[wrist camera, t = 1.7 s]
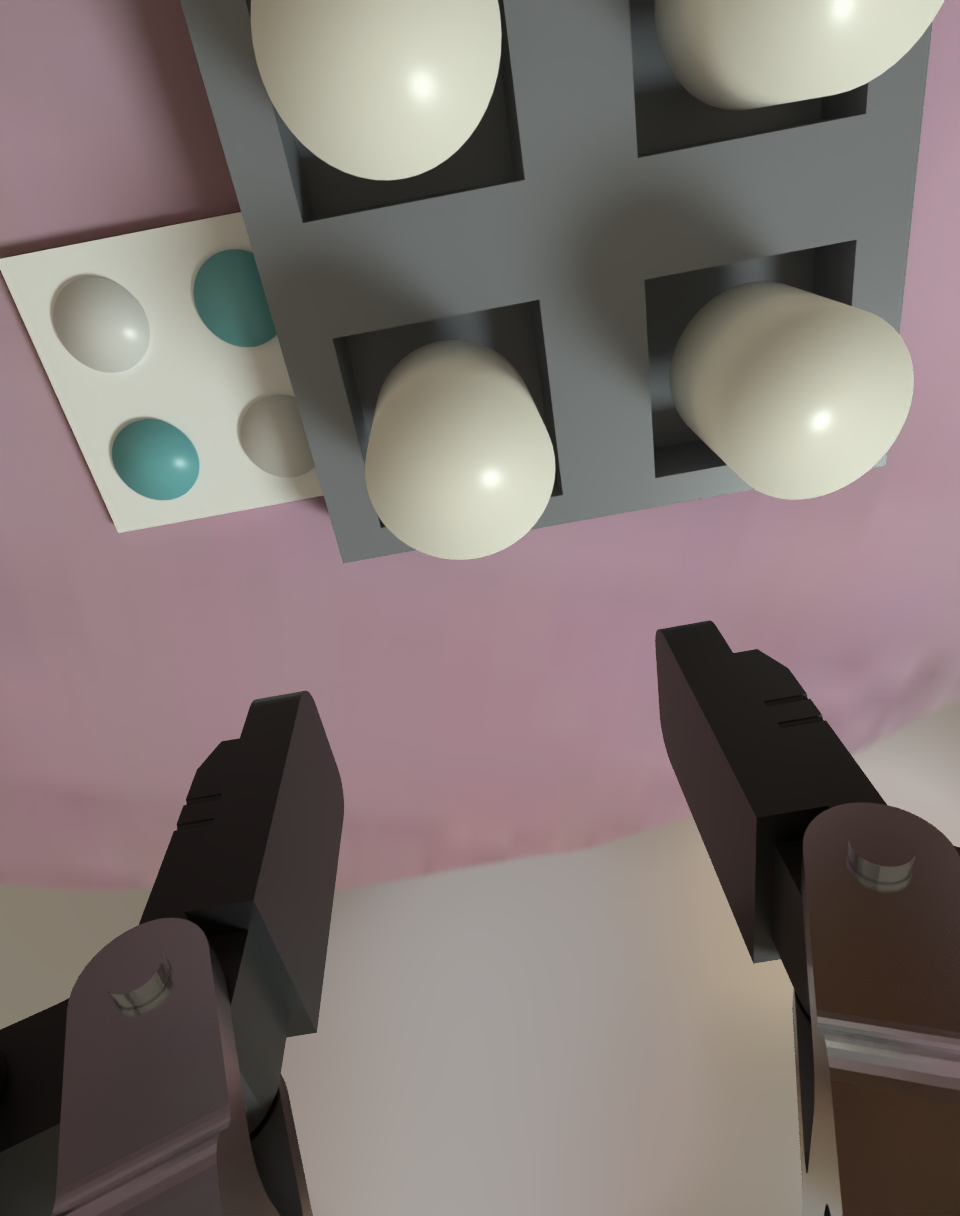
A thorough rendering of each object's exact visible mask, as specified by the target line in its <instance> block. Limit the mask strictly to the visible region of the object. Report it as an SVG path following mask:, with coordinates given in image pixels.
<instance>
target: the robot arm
mask: <svg viewBox="0 0 960 1216" xmlns="http://www.w3.org/2000/svg"><path fill="white" fill-rule="evenodd" d="M655 643H656V660H657V676H658V692H659V709H660V721H661V728H662V733H663V738H664V743H665V747H666V750H667V754H668V757H669V759H670V762H671V765H672V767H673V769H674V772H675V774H676V777H677V779H678V782H679V784H680V786H681V789H682V791H683V794H684V796H685V798H686V801H687V803H688V806H689V808H690V811H691V813H692V815H693V818H694V820H695V823H696V825H697V828H698V830H699V832H700V834H701V837H702V840H703V842H704V845H705V847H706V849H707V851H708V854H709V856H710V859H711V862H712V864H713V866H714V869H715V871H716V874H717V876H718V878H719V881H720V883H721V886H722V888H723V891H724V893H725V895H726V898H727V900H728V903H729V905H730V908H731V910H732V912H733V915H734V917H735V919H736V922H737V925H738V927H739V929H740V932H741V934H742V937H743V939H744V942H745V944H746V946H747V949H748V951H749V954H750V956H751V958H752V961H753V963H759V962H765V961H772V960H778V959H781V960H782V962H783V965H784V967H785V969H786V971H787V973H788V975H789V978H790V980H791V982H792V985H793V987H794V990H793V1007H792V1010H793V1011H792V1012H793V1028H794V1029H793V1030H794V1048H795V1067H796V1084H797V1102H798V1120H799V1139H800V1156H801V1176H802V1209H803V1210H802V1211H803V1212H802V1215H803V1216H960V847H956V846H953V844H952V843H951V842H950V841H949V840H948V839H947V837H946V836H945V835H944V834H943V833H942V832H940V831H939V830H938V829H937V828H936V827H934V826H933V825H932V824H930V823H928V822H927V821H925V820H924V819H922V818H920V817H918V816H916V815H914V814H912V813H910V812H907V811H905V810H902V809H899V808H896V807H892V806H888V805H887V804H886V803H885V801H884V800H883V799H882V797H881V796H880V795H879V793H878V792H877V790H876V789H875V788H874V786H873V785H872V784H871V782H870V781H869V779H868V778H867V777H866V775H865V774H864V772H863V771H862V770H861V768H860V767H859V766H858V764H857V763H856V761H855V760H854V759H853V757H852V756H851V754H850V753H849V752H848V750H847V749H846V748H845V746H844V745H843V743H842V742H841V741H840V739H839V738H838V736H837V735H836V734H835V732H834V731H833V730H832V728H831V727H830V725H829V724H828V723H827V721H823V718H822V714H821V713H820V712H819V710H818V709H817V707H816V706H815V705H814V703H813V702H812V701H811V699H808V698H807V694H806V692H805V691H804V689H803V688H802V687H801V685H800V684H799V683H798V681H797V680H796V678H795V677H794V676H793V674H792V673H791V671H790V670H789V669H788V668H787V667H785V666H784V665H782V664H780V663H779V662H777V661H775V660H774V659H772V658H771V657H769V656H767V655H766V654H764V653H762V652H761V651H759V650H758V649H755V650H750V651H744V652H738V653H733V652H732V651H731V649H730V647H729V646H728V644H727V643H726V641H725V639H724V638H723V636H722V635H721V633H720V632H719V630H718V628H717V627H716V625H715V624H714V623H713V622H712V621H705V622H699V623H693V624H688V625H682V626H676V627H671V628H665V629H659V630H657V632H656V640H655ZM186 802H187V805H184V806H183V809H182V811H181V814H180V817H179V819H178V822H177V830H176V831H174V833H173V835H172V838H171V841H170V843H169V846H168V849H167V851H166V854H165V857H164V859H163V862H162V864H161V867H160V870H159V872H158V875H157V878H156V880H155V883H154V886H153V888H152V891H151V894H150V897H149V899H148V902H147V905H146V907H145V910H144V912H143V915H142V918H141V921H140V923H139V925H138V926H136V927H134V928H132V929H130V930H128V931H126V932H125V933H123V934H121V935H120V936H118V937H116V938H115V939H114V940H112V941H111V942H110V943H109V944H107V945H106V946H105V947H104V948H103V949H102V950H101V951H99V952H98V953H97V954H96V955H95V956H94V957H93V959H92V960H91V961H90V962H89V963H88V964H87V966H86V967H85V969H84V970H83V971H82V973H81V974H80V976H79V977H78V979H77V981H76V983H75V985H74V987H73V989H72V992H71V995H70V998H69V999H67V1000H65V1001H63V1002H61V1003H59V1004H57V1005H54V1006H52V1007H50V1008H48V1009H46V1010H43V1011H41V1012H39V1013H37V1014H34V1015H32V1016H30V1017H28V1018H26V1019H24V1020H21V1021H19V1022H17V1023H14V1024H12V1025H10V1026H8V1027H6V1028H3V1029H1V1030H0V1216H313V1213H312V1209H311V1204H310V1199H309V1194H308V1189H307V1184H306V1179H305V1174H304V1169H303V1164H302V1159H301V1154H300V1149H299V1144H298V1139H297V1134H296V1129H295V1124H294V1119H293V1114H292V1109H291V1104H290V1099H289V1094H288V1090H287V1086H286V1083H285V1081H284V1079H283V1077H282V1075H281V1067H282V1061H283V1055H284V1048H285V1042H286V1037H292V1036H297V1035H304V1034H310V1033H317V1026H318V1018H319V1010H320V1002H321V994H322V985H323V978H324V969H325V960H326V953H327V945H328V937H329V929H330V921H331V912H332V905H333V897H334V889H335V881H336V873H337V865H338V857H339V849H340V841H341V833H342V825H343V816H344V798H343V789H342V783H341V778H340V774H339V771H338V768H337V765H336V762H335V759H334V756H333V753H332V750H331V748H330V745H329V742H328V739H327V736H326V733H325V730H324V727H323V725H322V722H321V719H320V716H319V713H318V710H317V707H316V705H315V702H314V700H313V698H312V696H311V694H310V693H309V692H308V691H302V692H296V693H290V694H284V695H279V696H273V697H267V698H262V699H256V700H254V701H253V702H252V703H251V706H250V709H249V712H248V715H247V718H246V721H245V724H244V727H243V730H242V733H241V737H240V738H239V739H234V740H228V741H222V742H221V743H220V744H219V745H218V746H217V747H216V748H215V750H214V751H213V752H212V753H211V754H210V755H209V757H208V758H207V759H206V760H205V761H204V762H203V764H202V765H201V766H200V767H199V768H198V769H197V771H196V774H195V777H194V779H193V782H192V785H191V787H190V790H189V793H188V795H187V798H186Z"/></svg>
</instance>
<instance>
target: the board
mask: <svg viewBox="0 0 960 1216" xmlns="http://www.w3.org/2000/svg"><path fill="white" fill-rule="evenodd" d="M180 3H181V7H182V10H183V13H184V17H185V20H186V24H187V27H188V31H189V34H190V38H191V41H192V44H193V48H194V51H195V55H196V58H197V62H198V65H199V68H200V72H201V75H202V79H203V82H204V86H205V89H206V93H207V96H208V99H209V103H210V106H211V110H212V113H213V117H214V120H215V124H216V127H217V130H218V134H219V137H220V141H221V144H222V148H223V151H224V154H225V158H226V161H227V165H228V168H229V172H230V175H231V179H232V182H233V185H234V189H235V192H236V196H237V199H238V203H239V206H240V210H241V213H242V216H243V220H244V223H245V227H246V230H247V234H248V237H249V240H250V244H251V247H252V251H253V254H254V258H255V261H256V265H257V268H258V271H259V275H260V278H261V282H262V285H263V289H264V292H265V295H266V299H267V302H268V306H269V309H270V313H271V316H272V320H273V323H274V326H275V330H276V333H277V337H278V340H279V344H280V347H281V351H282V354H283V357H284V361H285V364H286V368H287V371H288V375H289V378H290V381H291V385H292V388H293V392H294V395H295V399H296V402H297V406H298V409H299V412H300V416H301V419H302V423H303V426H304V430H305V433H306V437H307V440H308V443H309V447H310V450H311V454H312V457H313V461H314V464H315V467H316V471H317V474H318V478H319V481H320V485H321V488H322V492H323V495H324V498H325V502H326V505H327V509H328V512H329V516H330V519H331V523H332V526H333V529H334V533H335V536H336V540H337V543H338V547H339V550H340V553H341V557H342V560H343V563H348V562H353V561H359V560H364V559H370V558H375V557H381V556H386V555H392V554H398V553H403V552H409V551H414V550H416V549H414V548H412V547H410V546H408V545H407V544H405V543H404V542H402V541H401V540H399V539H398V538H397V537H396V536H395V535H394V534H393V533H392V532H390V530H389V529H388V528H387V527H386V526H385V525H384V524H383V522H382V521H381V519H380V518H379V516H378V515H377V513H376V511H375V509H374V507H373V505H372V503H371V500H370V497H369V494H368V491H367V486H366V480H365V461H366V453H367V448H368V443H369V438H370V433H371V428H372V423H373V418H374V413H375V408H376V404H377V399H378V395H379V392H380V390H381V387H382V385H383V383H384V381H385V379H386V377H387V376H388V374H389V373H390V372H391V370H392V369H393V368H394V367H395V366H396V364H397V363H398V362H399V361H400V360H401V359H403V358H404V357H405V356H407V355H408V354H409V353H411V352H412V351H414V350H416V349H418V348H419V347H422V346H424V345H427V344H429V343H433V342H437V341H442V340H466V341H472V342H475V343H479V344H482V345H484V346H487V347H489V348H491V349H493V350H494V351H496V352H498V353H499V354H501V355H502V356H503V357H504V358H506V359H507V360H508V361H509V362H510V363H511V364H512V365H513V366H514V367H515V368H516V370H517V371H518V372H519V374H520V375H521V377H522V378H523V380H524V382H525V384H526V386H527V388H528V391H529V393H530V395H531V397H532V399H533V401H534V404H535V406H536V408H537V410H538V412H539V414H540V417H541V419H542V421H543V423H544V425H545V427H546V429H547V432H548V434H549V437H550V440H551V443H552V445H553V451H554V456H555V480H554V485H553V490H552V493H551V496H550V499H549V502H548V504H547V506H546V508H545V510H544V512H543V514H542V515H541V517H540V518H539V519H538V521H537V522H536V524H535V525H534V526H533V527H532V528H531V529H536V528H542V527H547V526H553V525H558V524H564V523H570V522H575V521H581V520H586V519H592V518H597V517H603V516H608V515H614V514H619V513H625V512H631V511H636V510H642V509H647V508H653V507H658V506H664V505H669V504H675V503H680V502H686V501H692V500H697V499H703V498H708V497H714V496H719V495H725V494H730V493H736V492H742V491H747V490H753V489H754V488H752V487H751V486H749V485H748V484H747V483H745V482H744V481H743V480H742V479H741V478H740V477H739V476H738V475H737V474H736V473H735V472H734V471H733V470H732V469H731V468H730V467H729V466H728V465H727V464H726V463H725V462H724V461H723V460H722V459H721V458H720V457H719V456H718V455H717V454H716V453H715V452H714V451H713V450H712V449H711V448H710V447H709V446H708V445H707V444H706V443H705V442H704V441H703V440H701V439H700V438H699V437H698V436H697V435H696V434H695V433H694V432H693V431H692V430H691V429H690V428H689V427H688V426H687V424H686V423H685V422H684V421H683V420H682V418H681V417H680V415H679V413H678V411H677V409H676V407H675V404H674V402H673V398H672V394H671V388H670V368H671V362H672V358H673V354H674V350H675V348H676V345H677V343H678V340H679V338H680V336H681V334H682V333H683V331H684V329H685V328H686V326H687V325H688V323H689V322H690V320H691V319H692V318H693V317H694V316H695V314H696V313H697V312H698V311H699V310H700V309H701V308H702V307H703V306H704V305H706V304H707V303H708V302H709V301H710V300H712V299H713V298H715V297H716V296H717V295H719V294H721V293H723V292H725V291H726V290H728V289H731V288H733V287H736V286H738V285H742V284H746V283H749V282H757V281H772V282H778V283H783V284H786V285H789V286H792V287H795V288H798V289H801V290H804V291H807V292H810V293H813V294H816V295H819V296H822V297H825V298H828V299H831V300H834V301H837V302H840V303H844V304H847V305H850V306H853V307H856V308H859V309H862V310H865V311H868V312H870V313H873V314H875V315H877V316H879V317H880V318H882V319H884V320H885V321H886V322H887V323H889V324H890V325H891V326H892V327H893V328H894V329H895V330H896V331H897V332H898V333H899V332H900V323H901V313H902V304H903V294H904V285H905V276H906V266H907V257H908V247H909V238H910V228H911V219H912V209H913V200H914V191H915V181H916V172H917V162H918V153H919V143H920V134H921V124H922V115H923V105H924V96H925V87H926V77H927V68H928V58H929V49H930V39H931V30H932V22H931V24H930V25H929V26H928V28H927V29H926V31H925V32H924V33H923V35H922V36H921V37H920V39H919V40H918V41H917V42H916V43H915V44H914V45H913V47H912V48H911V49H910V50H909V51H908V52H907V53H906V54H905V55H904V56H903V57H902V58H901V59H900V60H899V61H898V62H897V63H895V64H894V65H893V66H892V67H890V68H889V69H888V70H886V71H885V72H884V73H882V74H881V75H880V76H878V77H876V78H875V79H873V80H871V81H869V82H868V83H866V84H864V85H862V86H859V87H857V88H855V89H852V90H850V91H847V92H843V93H839V94H836V95H830V96H825V97H819V98H813V99H807V100H801V101H796V102H790V103H784V104H778V105H772V106H767V107H761V108H755V109H748V110H740V111H739V110H725V109H720V108H716V107H713V106H711V105H708V104H705V103H704V102H702V101H700V100H699V99H697V98H695V97H694V96H693V95H691V94H690V93H689V92H688V91H687V90H685V88H684V87H683V86H682V85H681V84H680V83H679V82H678V81H677V79H676V78H675V76H674V75H673V73H672V72H671V70H670V69H669V66H668V64H667V62H666V60H665V58H664V56H663V53H662V50H661V47H660V44H659V40H658V35H657V30H656V23H655V12H654V8H655V0H498V5H499V10H500V19H501V34H502V35H501V56H500V63H499V70H498V75H497V79H496V83H495V87H494V91H493V94H492V96H491V99H490V101H489V104H488V107H487V109H486V111H485V113H484V115H483V117H482V119H481V120H480V122H479V124H478V126H477V127H476V129H475V130H474V131H473V133H472V134H471V136H470V137H469V138H468V140H467V141H466V142H465V143H464V144H463V145H462V146H461V147H460V148H459V150H457V151H456V152H455V153H454V154H453V155H452V156H450V157H449V158H448V159H447V160H446V161H444V162H442V163H441V164H439V165H438V166H436V167H434V168H433V169H431V170H428V171H426V172H424V173H422V174H419V175H416V176H412V177H409V178H405V179H397V180H372V179H367V178H361V177H357V176H354V175H351V174H348V173H345V172H343V171H341V170H339V169H337V168H335V167H333V166H331V165H329V164H328V163H326V162H325V161H323V160H322V159H320V158H319V157H317V156H316V155H315V154H313V153H312V152H311V151H310V150H309V149H308V148H306V147H305V146H304V145H303V144H302V143H301V142H300V141H299V140H298V139H297V137H296V136H295V135H294V134H293V133H292V132H291V131H290V129H289V128H288V127H287V125H286V124H285V123H284V121H283V120H282V118H281V117H280V115H279V114H278V112H277V110H276V108H275V107H274V105H273V103H272V101H271V100H270V97H269V95H268V93H267V90H266V88H265V86H264V84H263V81H262V78H261V75H260V72H259V68H258V65H257V62H256V57H255V52H254V47H253V42H252V31H251V0H180ZM886 455H887V452H886V453H885V454H884V456H883V457H882V458H881V459H880V460H879V461H878V462H877V463H876V464H875V465H874V466H873V467H872V468H875V467H880V466H885V464H886ZM531 529H530V530H531Z"/></svg>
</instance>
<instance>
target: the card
mask: <svg viewBox="0 0 960 1216" xmlns="http://www.w3.org/2000/svg"><path fill="white" fill-rule="evenodd" d="M0 270H1V272H2V275H3V277H4V279H5V281H6V283H7V286H8V288H9V290H10V292H11V295H12V297H13V299H14V301H15V304H16V306H17V308H18V310H19V312H20V315H21V317H22V319H23V321H24V324H25V326H26V328H27V330H28V333H29V335H30V337H31V339H32V341H33V344H34V346H35V348H36V350H37V353H38V355H39V357H40V359H41V362H42V364H43V366H44V368H45V370H46V373H47V375H48V377H49V379H50V382H51V384H52V386H53V388H54V391H55V393H56V395H57V397H58V399H59V402H60V404H61V406H62V408H63V411H64V413H65V415H66V417H67V420H68V422H69V424H70V426H71V428H72V431H73V433H74V435H75V437H76V440H77V442H78V444H79V446H80V449H81V451H82V453H83V455H84V457H85V460H86V462H87V464H88V466H89V469H90V471H91V473H92V475H93V478H94V480H95V482H96V484H97V486H98V489H99V491H100V493H101V495H102V498H103V500H104V502H105V504H106V507H107V509H108V511H109V513H110V515H111V518H112V520H113V522H114V524H115V527H116V529H117V531H118V533H121V532H127V531H132V530H138V529H143V528H149V527H154V526H160V525H165V524H171V523H176V522H181V521H187V520H192V519H198V518H203V517H209V516H214V515H220V514H225V513H231V512H236V511H242V510H247V509H252V508H258V507H263V506H269V505H274V504H280V503H285V502H291V501H296V500H302V499H307V498H313V497H318V496H324V495H323V492H322V488H321V485H320V481H319V478H318V474H317V471H316V467H315V464H314V461H313V457H312V454H311V450H310V447H309V443H308V440H307V437H306V433H305V430H304V426H303V423H302V419H301V416H300V412H299V409H298V406H297V402H296V399H295V395H294V392H293V388H292V385H291V381H290V378H289V375H288V371H287V368H286V364H285V361H284V357H283V354H282V351H281V347H280V344H279V340H278V337H277V333H276V330H275V326H274V323H273V320H272V316H271V313H270V309H269V306H268V302H267V299H266V295H265V292H264V289H263V285H262V282H261V278H260V275H259V271H258V268H257V265H256V261H255V258H254V254H253V251H252V247H251V244H250V240H249V237H248V234H247V230H246V227H245V223H244V220H243V216H242V213H241V212H237V213H232V214H227V215H222V216H217V217H212V218H206V219H201V220H196V221H191V222H186V223H181V224H176V225H171V226H165V227H160V228H155V229H150V230H145V231H140V232H135V233H130V234H124V235H119V236H114V237H109V238H104V239H99V240H94V241H88V242H83V243H78V244H73V245H68V246H63V247H58V248H53V249H47V250H42V251H37V252H32V253H27V254H22V255H17V256H11V257H6V258H1V259H0Z"/></svg>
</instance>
